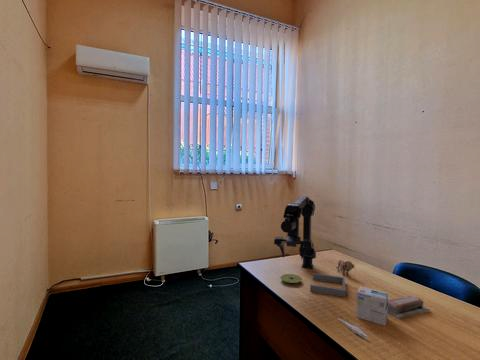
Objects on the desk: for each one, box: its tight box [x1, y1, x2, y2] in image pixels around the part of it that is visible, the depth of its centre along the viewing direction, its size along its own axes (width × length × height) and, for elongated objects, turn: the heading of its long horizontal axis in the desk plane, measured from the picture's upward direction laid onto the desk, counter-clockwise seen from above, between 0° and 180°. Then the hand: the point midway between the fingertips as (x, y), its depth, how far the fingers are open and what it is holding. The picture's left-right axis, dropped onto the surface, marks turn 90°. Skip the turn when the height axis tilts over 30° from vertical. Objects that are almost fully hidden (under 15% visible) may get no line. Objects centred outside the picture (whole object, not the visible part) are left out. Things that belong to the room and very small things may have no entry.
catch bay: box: [309, 272, 346, 298], centre depth 136 cm, size 16×16×3 cm
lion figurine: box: [335, 259, 355, 277], centre depth 154 cm, size 15×5×9 cm, turn 13°
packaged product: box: [387, 295, 430, 320], centre depth 115 cm, size 18×5×10 cm
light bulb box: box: [355, 286, 389, 326], centre depth 109 cm, size 11×7×11 cm, turn 56°
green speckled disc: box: [280, 273, 303, 284], centre depth 142 cm, size 11×11×2 cm
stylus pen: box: [337, 317, 369, 341], centre depth 101 cm, size 15×3×2 cm, turn 23°
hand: (292, 258), depth 139 cm, fingers open, 9 cm apart
